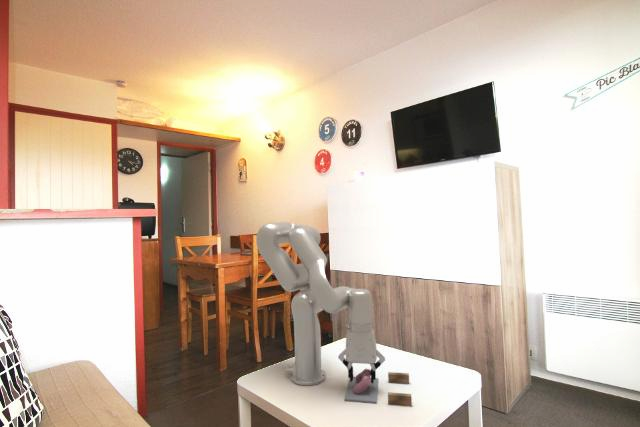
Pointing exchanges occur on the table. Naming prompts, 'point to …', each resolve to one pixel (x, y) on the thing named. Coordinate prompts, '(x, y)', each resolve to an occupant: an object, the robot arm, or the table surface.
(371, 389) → the mat
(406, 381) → the dock
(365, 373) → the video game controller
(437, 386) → the table surface
